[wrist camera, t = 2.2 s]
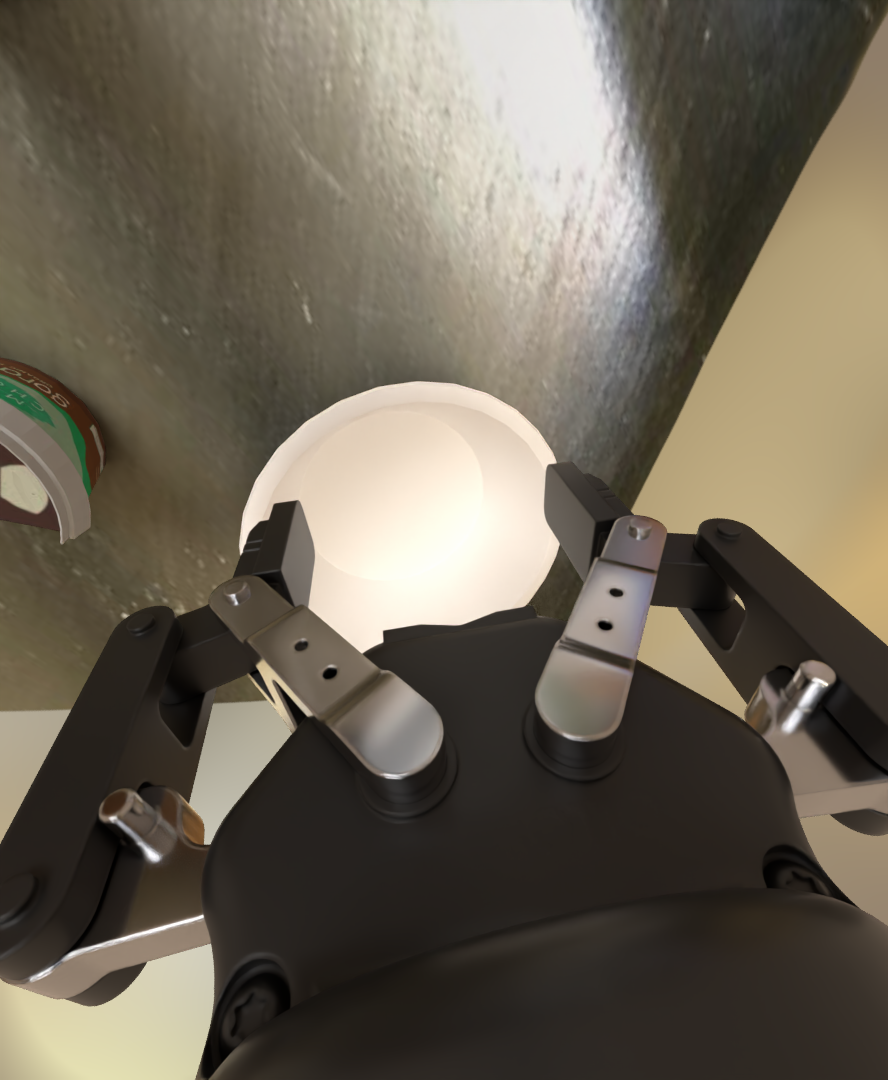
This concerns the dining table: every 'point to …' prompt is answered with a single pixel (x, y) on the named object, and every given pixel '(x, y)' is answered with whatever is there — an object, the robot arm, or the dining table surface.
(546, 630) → the robot arm
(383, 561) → the bowl
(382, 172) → the dining table surface
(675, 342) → the dining table surface
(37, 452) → the food container
